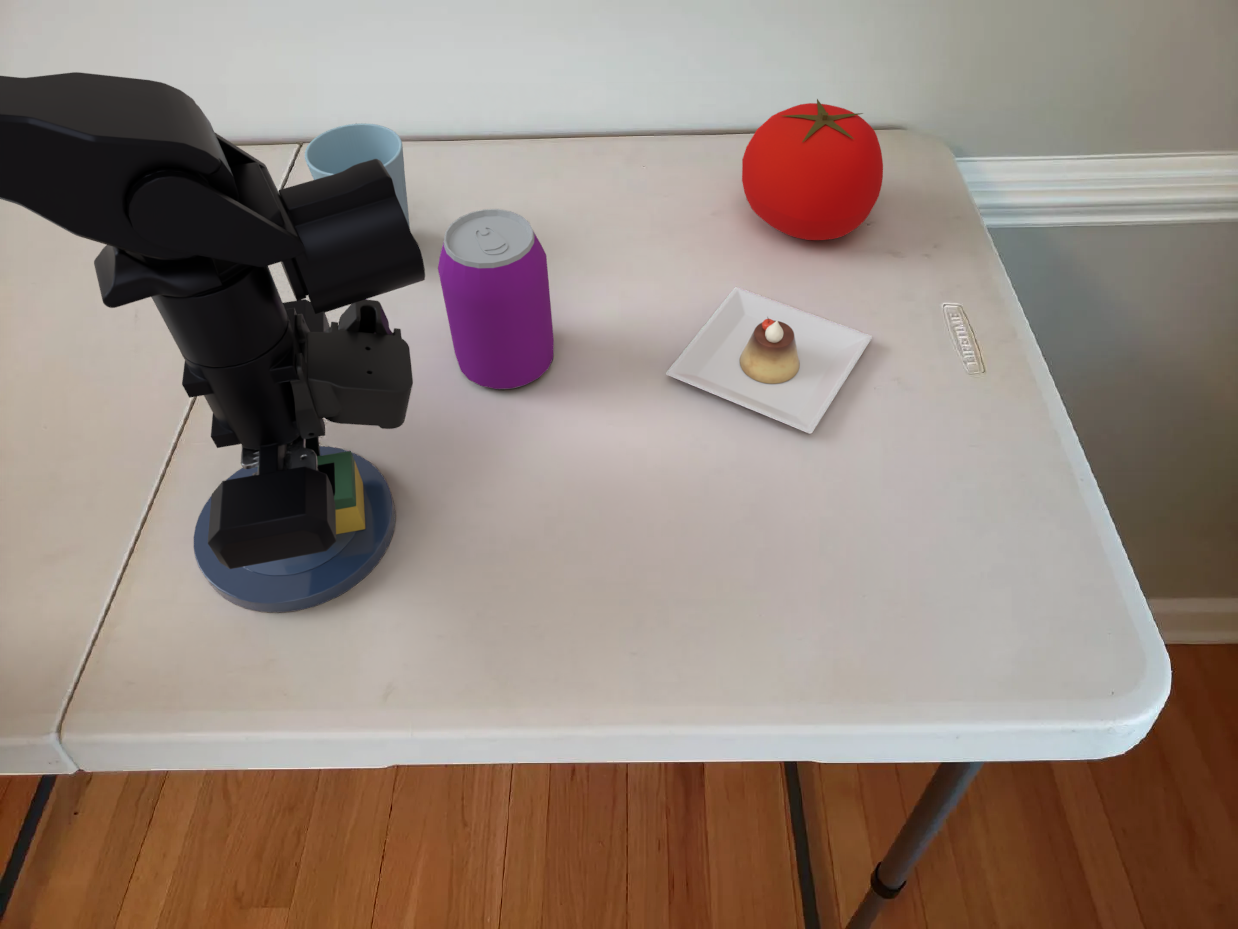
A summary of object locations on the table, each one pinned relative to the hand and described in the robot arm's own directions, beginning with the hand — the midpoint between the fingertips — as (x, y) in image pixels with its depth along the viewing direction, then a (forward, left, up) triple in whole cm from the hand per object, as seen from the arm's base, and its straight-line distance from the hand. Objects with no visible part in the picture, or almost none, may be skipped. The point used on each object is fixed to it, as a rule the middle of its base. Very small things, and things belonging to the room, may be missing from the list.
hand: (315, 506), depth 61 cm
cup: (+5, +29, -2) cm, 30 cm away
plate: (-2, 0, -2) cm, 3 cm away
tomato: (+43, +25, -2) cm, 50 cm away
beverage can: (+14, +13, -2) cm, 19 cm away
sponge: (0, 0, -1) cm, 1 cm away
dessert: (+34, +8, -2) cm, 35 cm away
